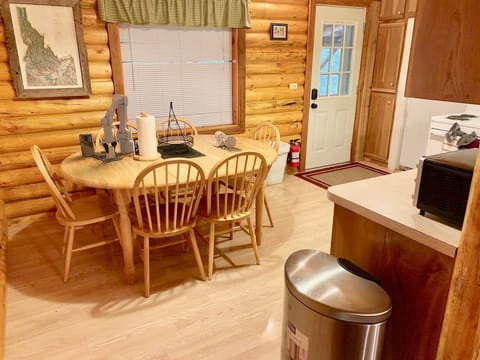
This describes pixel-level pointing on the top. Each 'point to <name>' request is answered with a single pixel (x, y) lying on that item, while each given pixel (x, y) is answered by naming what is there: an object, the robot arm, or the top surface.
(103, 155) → the walnut square frame
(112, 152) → the cream block
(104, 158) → the slate mat
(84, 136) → the coffee box
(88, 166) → the top surface
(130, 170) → the top surface
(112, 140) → the robot arm
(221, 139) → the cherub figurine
